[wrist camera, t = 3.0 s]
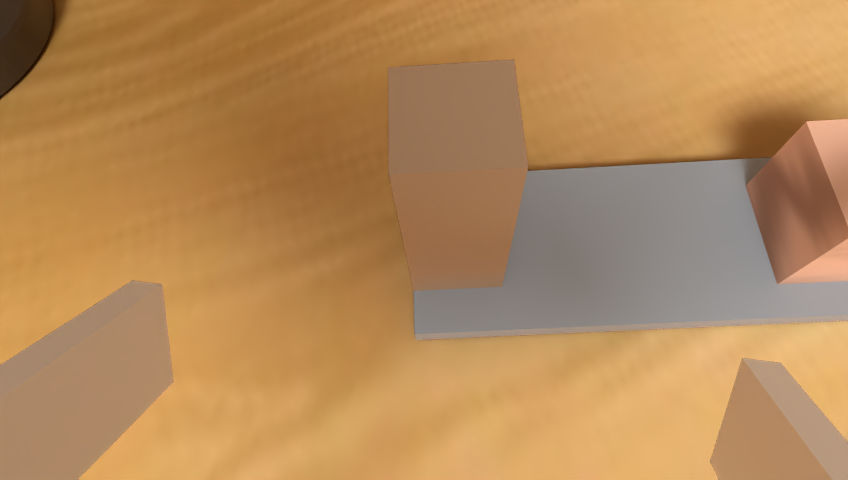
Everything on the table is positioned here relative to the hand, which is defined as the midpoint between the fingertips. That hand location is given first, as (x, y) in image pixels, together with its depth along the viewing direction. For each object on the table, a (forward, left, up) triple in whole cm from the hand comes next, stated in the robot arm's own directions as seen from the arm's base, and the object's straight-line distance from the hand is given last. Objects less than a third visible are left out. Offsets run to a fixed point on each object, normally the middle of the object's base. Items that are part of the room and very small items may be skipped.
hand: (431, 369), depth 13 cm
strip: (-8, +10, -12) cm, 17 cm away
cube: (-8, +17, -11) cm, 22 cm away
